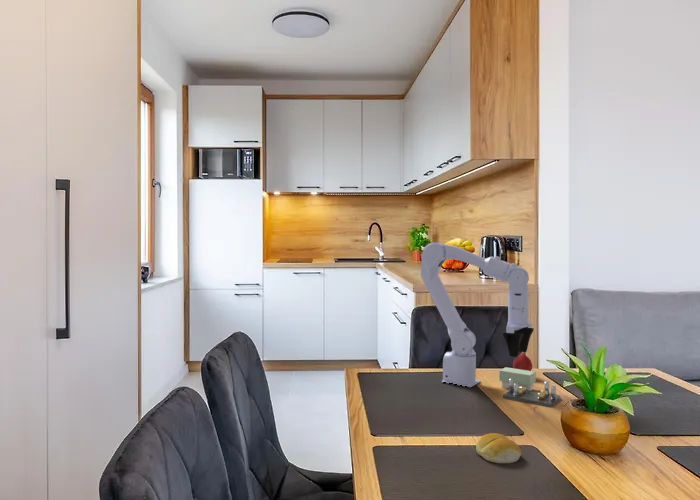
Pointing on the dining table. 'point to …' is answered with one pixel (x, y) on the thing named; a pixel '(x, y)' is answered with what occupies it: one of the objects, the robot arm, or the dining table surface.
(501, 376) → the pale green block
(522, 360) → the onion
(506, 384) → the stand
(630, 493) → the dining table surface
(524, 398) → the chassis
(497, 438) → the bread roll
